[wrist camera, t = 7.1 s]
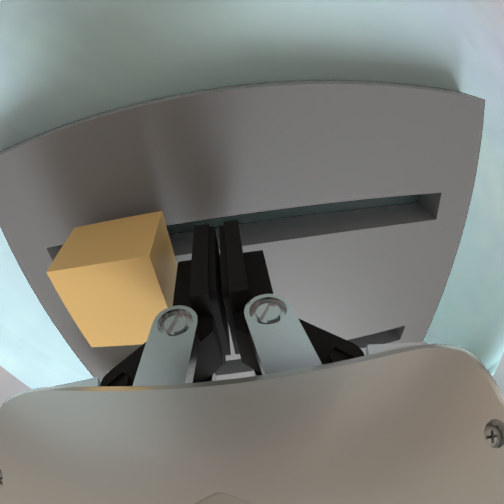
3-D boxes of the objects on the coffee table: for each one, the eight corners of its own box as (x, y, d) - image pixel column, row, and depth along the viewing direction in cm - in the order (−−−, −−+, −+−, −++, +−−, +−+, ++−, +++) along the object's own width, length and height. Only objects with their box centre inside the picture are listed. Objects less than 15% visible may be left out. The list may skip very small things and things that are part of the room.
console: (460, 92, 12) (484, 99, 10) (400, 352, 25) (409, 368, 23) (-2, 152, 11) (-23, 166, 10) (127, 393, 24) (124, 412, 22)
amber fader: (170, 186, 13) (149, 256, 9) (187, 258, 16) (181, 340, 11) (92, 202, 13) (46, 272, 9) (117, 268, 16) (91, 347, 11)
